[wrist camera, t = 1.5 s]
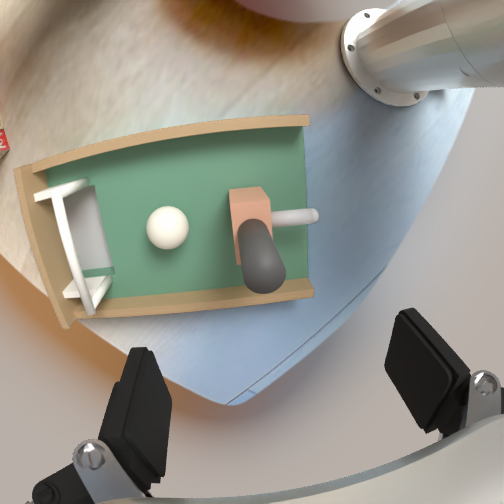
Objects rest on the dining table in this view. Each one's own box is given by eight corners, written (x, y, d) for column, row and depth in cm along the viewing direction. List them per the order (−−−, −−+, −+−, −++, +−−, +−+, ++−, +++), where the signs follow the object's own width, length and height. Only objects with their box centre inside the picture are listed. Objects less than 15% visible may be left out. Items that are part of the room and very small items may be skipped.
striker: (308, 182, 27) (370, 221, 15) (310, 230, 29) (363, 297, 17) (228, 189, 27) (232, 235, 15) (234, 239, 29) (242, 315, 17)
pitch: (295, 117, 27) (324, 111, 19) (302, 275, 34) (325, 318, 26) (48, 159, 26) (1, 173, 18) (84, 297, 33) (55, 339, 25)
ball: (187, 199, 27) (182, 209, 24) (193, 238, 29) (189, 253, 25) (148, 204, 27) (137, 215, 23) (155, 242, 29) (146, 258, 25)
